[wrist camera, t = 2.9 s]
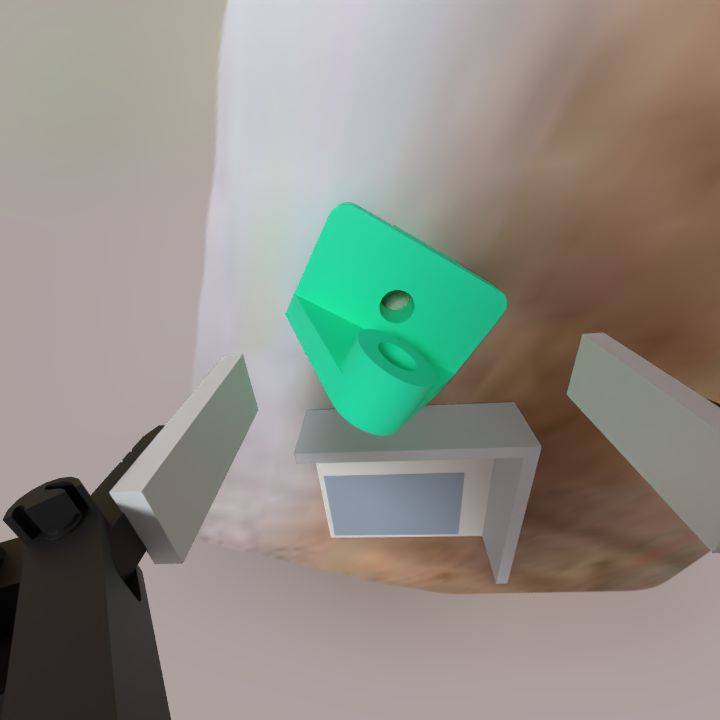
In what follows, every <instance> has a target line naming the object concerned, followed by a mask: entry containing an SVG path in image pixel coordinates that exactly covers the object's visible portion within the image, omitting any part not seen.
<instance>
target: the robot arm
mask: <svg viewBox="0 0 720 720" xmlns="http://www.w3.org/2000/svg"><path fill="white" fill-rule="evenodd" d="M566 395H567V396H568V397H569V398H570V399H571V400H572V401H573V402H574V403H575V404H576V405H577V406H578V408H579V409H580V410H581V411H582V412H583V413H584V414H585V415H586V416H587V417H588V418H589V419H590V420H591V422H592V423H593V424H594V425H595V426H596V427H597V428H598V429H599V430H600V431H601V432H602V433H603V435H604V436H605V437H606V438H607V439H608V440H609V441H610V442H611V443H612V444H613V445H614V446H615V448H616V449H617V450H618V451H619V452H620V453H621V454H622V455H623V456H624V457H625V458H626V459H627V461H628V462H629V463H630V464H631V465H632V466H633V467H634V468H635V469H636V470H637V471H638V472H639V474H640V475H641V476H642V477H643V478H644V479H645V480H646V481H647V482H648V483H649V484H650V485H651V487H652V488H653V489H654V490H655V491H656V492H657V493H658V494H659V495H660V496H661V497H662V498H663V500H664V501H665V502H666V503H667V504H668V505H669V506H670V507H671V508H672V509H673V510H674V511H675V513H676V514H677V515H678V516H679V517H680V518H681V519H682V520H683V521H684V522H685V523H686V524H687V525H688V527H689V528H690V529H691V530H692V531H693V532H694V533H695V534H696V535H697V536H698V537H699V538H700V540H701V541H702V542H703V543H704V544H705V545H706V546H707V547H708V548H709V549H710V550H711V551H712V553H720V404H718V403H716V402H714V401H711V400H709V399H706V398H704V397H703V396H701V395H700V394H698V393H696V392H695V391H693V390H692V389H690V388H689V387H687V386H686V385H684V384H683V383H681V382H679V381H678V380H676V379H675V378H673V377H672V376H670V375H669V374H667V373H665V372H664V371H662V370H661V369H659V368H658V367H656V366H655V365H653V364H652V363H650V362H648V361H647V360H645V359H644V358H642V357H641V356H639V355H638V354H636V353H634V352H633V351H631V350H630V349H628V348H627V347H625V346H624V345H622V344H621V343H619V342H617V341H616V340H614V339H613V338H611V337H610V336H608V335H607V334H605V333H588V334H582V337H581V341H580V345H579V349H578V353H577V356H576V360H575V364H574V368H573V372H572V375H571V379H570V383H569V387H568V391H567V394H566ZM257 411H258V407H257V403H256V400H255V396H254V393H253V389H252V386H251V382H250V378H249V375H248V371H247V368H246V364H245V361H244V357H243V354H239V355H224V356H223V357H222V359H221V360H220V361H219V362H218V363H217V365H216V366H215V367H214V368H213V369H212V370H211V372H210V373H209V374H208V375H207V376H206V378H205V379H204V380H203V381H202V382H201V384H200V385H199V386H198V387H197V388H196V389H195V391H194V392H193V393H192V394H191V395H190V397H189V398H188V399H187V400H186V402H185V403H184V404H183V405H182V406H181V407H180V408H179V410H178V411H177V412H176V413H175V415H174V416H173V417H172V418H171V419H170V421H169V422H168V423H167V424H166V425H164V426H163V425H161V426H158V427H156V428H155V429H153V430H152V431H150V432H149V433H148V434H146V435H145V436H144V437H142V439H141V440H140V441H139V442H138V443H137V444H136V445H135V446H134V447H133V449H132V452H129V453H128V454H127V455H126V457H125V458H124V459H123V462H122V463H119V465H118V466H117V467H116V468H115V469H114V470H113V471H112V472H111V473H110V474H109V476H108V477H107V478H106V479H105V480H104V481H103V482H102V483H101V484H100V486H99V487H98V488H97V489H96V490H95V491H94V492H93V493H92V495H91V496H90V494H89V493H88V492H87V490H86V489H85V487H84V486H83V484H82V483H81V482H80V480H79V479H77V478H74V477H65V478H59V479H56V480H53V481H50V482H47V483H45V484H43V485H41V486H39V487H37V488H35V489H33V490H31V491H30V492H28V493H27V494H25V495H24V496H23V497H21V498H20V499H18V500H17V501H16V502H15V503H14V504H13V505H12V506H11V507H10V508H9V509H8V511H7V512H6V515H5V516H4V518H3V521H4V522H5V523H6V524H7V525H8V526H9V527H10V528H11V529H12V530H13V532H14V533H15V534H16V535H17V536H18V538H15V539H12V540H8V541H5V542H1V543H0V720H171V717H170V712H169V707H168V702H167V697H166V692H165V687H164V681H163V677H162V671H161V666H160V661H159V656H158V650H157V645H156V640H155V635H154V630H153V625H152V620H151V615H150V610H149V604H148V599H147V594H146V589H145V583H144V578H143V574H142V571H141V569H140V567H139V566H138V563H139V562H140V560H141V558H142V557H143V555H144V553H145V552H146V551H147V552H148V554H149V555H150V557H151V559H152V560H153V562H154V563H155V564H169V563H171V564H172V563H183V562H184V560H185V558H186V556H187V554H188V552H189V550H190V548H191V546H192V544H193V542H194V540H195V537H196V535H197V533H198V531H199V529H200V527H201V525H202V523H203V521H204V519H205V517H206V515H207V513H208V511H209V509H210V507H211V505H212V503H213V501H214V499H215V497H216V495H217V493H218V491H219V489H220V487H221V485H222V483H223V480H224V478H225V476H226V474H227V472H228V470H229V468H230V466H231V464H232V462H233V460H234V458H235V456H236V454H237V452H238V450H239V448H240V446H241V444H242V442H243V440H244V438H245V436H246V434H247V432H248V430H249V428H250V425H251V423H252V421H253V419H254V417H255V415H256V413H257Z"/></svg>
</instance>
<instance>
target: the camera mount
mask: <svg viewBox="0 0 720 720" xmlns="http://www.w3.org/2000/svg"><path fill="white" fill-rule="evenodd" d="M394 290H402V291H405V292H407V293H408V294H409V295H410V296H411V298H410V300H409V302H408V304H407V305H406V306H404V307H403V308H401V309H398V310H391V309H388V308H386V307H385V306H384V305H383V304H382V303H381V300H382V298H383V297H384V296H385V295H386V294H387V293H389V292H391V291H394ZM506 307H507V299H506V297H505V295H504V294H503V293H502V292H501V291H500V290H499V289H498V288H497V287H496V286H494V285H493V284H492V283H490V282H488V281H486V280H485V279H483V278H481V277H480V276H478V275H476V274H474V273H473V272H471V271H469V270H468V269H466V268H464V267H462V266H461V265H459V264H458V262H456V261H455V260H453V259H451V258H450V257H448V256H446V255H444V254H443V253H441V252H439V251H438V250H436V249H434V248H432V247H431V246H429V245H427V244H426V243H424V242H422V241H420V240H419V239H417V238H415V237H414V236H412V235H410V234H408V233H407V232H405V231H403V230H402V229H400V228H398V227H396V226H395V225H394V226H392V225H390V224H389V223H387V222H385V221H384V220H382V219H380V218H378V217H377V216H375V215H373V214H372V213H370V212H368V211H366V210H365V209H363V208H361V207H360V206H358V205H356V204H354V203H349V202H347V203H342V204H340V205H338V206H337V207H336V208H334V209H333V210H332V211H331V213H330V214H329V216H328V219H327V221H326V223H325V225H324V228H323V230H322V232H321V234H320V237H319V239H318V241H317V244H316V246H315V248H314V250H313V253H312V255H311V257H310V259H309V262H308V264H307V266H306V269H305V271H304V273H303V275H302V278H301V280H300V282H299V284H298V287H297V289H296V291H295V294H294V296H293V298H292V300H291V303H290V305H289V307H288V309H287V312H286V316H287V318H288V320H289V322H290V324H291V326H292V328H293V330H294V332H295V334H296V335H297V337H298V339H299V341H300V343H301V345H302V347H303V349H304V351H305V353H306V355H307V356H308V358H309V360H310V362H311V364H312V366H313V368H314V370H315V372H316V374H317V376H318V377H319V379H320V381H321V383H322V385H323V387H324V389H325V391H326V393H327V395H328V396H329V398H330V400H331V402H332V404H333V406H334V407H335V409H336V410H337V411H338V412H339V413H340V415H341V416H342V417H343V418H345V419H346V420H347V421H348V422H349V423H351V424H352V425H354V426H355V427H357V428H359V429H361V430H363V431H365V432H367V433H370V434H374V435H379V436H388V435H392V434H394V433H396V432H397V431H398V430H399V429H400V428H401V427H403V426H404V425H405V424H406V423H407V422H408V421H409V420H410V419H411V418H412V417H413V416H415V415H416V414H417V413H418V412H419V411H420V410H421V409H422V408H423V407H424V406H426V405H427V404H428V403H429V402H430V401H431V400H432V399H433V398H434V397H435V396H436V395H438V394H439V393H440V392H441V391H442V390H443V389H444V387H445V386H446V385H447V384H448V382H449V381H450V380H451V379H452V377H453V376H454V375H455V374H456V372H457V371H458V370H459V369H460V367H461V366H462V365H463V364H464V362H465V361H466V360H467V359H468V357H469V356H470V355H471V354H472V352H473V351H474V350H475V349H476V347H477V346H478V345H479V344H480V342H481V341H482V340H483V339H484V337H485V336H486V335H487V334H488V332H489V331H490V330H491V329H492V327H493V326H494V325H495V324H496V322H497V321H498V320H499V319H500V317H501V316H502V315H503V314H504V312H505V310H506Z"/></svg>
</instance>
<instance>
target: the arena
mask: <svg viewBox="0 0 720 720" xmlns="http://www.w3.org/2000/svg"><path fill="white" fill-rule="evenodd" d="M541 447H542V446H541V445H540V443H539V441H538V440H537V438H536V436H535V435H534V433H533V432H532V430H531V428H530V427H529V425H528V423H527V422H526V420H525V419H524V417H523V415H522V414H521V412H520V410H519V409H518V407H517V406H516V404H515V402H502V403H477V404H452V405H426V406H424V407H423V408H422V409H421V410H420V411H419V412H418V413H417V414H416V415H415V416H413V417H412V418H411V419H410V420H409V421H408V422H407V423H406V424H405V425H404V426H403V427H401V428H400V429H399V430H398V431H397V432H396V433H394V434H392V435H388V436H379V435H374V434H370V433H367V432H365V431H363V430H361V429H359V428H357V427H355V426H354V425H352V424H351V423H349V422H348V421H347V420H346V419H345V418H343V417H342V416H341V415H340V413H339V412H338V411H337V410H336V409H324V410H307V411H306V415H305V418H304V421H303V425H302V428H301V432H300V435H299V439H298V442H297V445H296V449H295V452H294V456H295V460H296V464H310V463H316V465H317V470H318V475H319V480H320V485H321V490H322V495H323V500H324V505H325V510H326V515H327V520H328V525H329V530H330V535H331V537H432V536H482V538H483V541H484V544H485V548H486V551H487V554H488V558H489V561H490V565H491V568H492V571H493V575H494V578H495V581H496V583H507V582H508V578H509V574H510V570H511V566H512V563H513V559H514V555H515V551H516V547H517V543H518V539H519V535H520V531H521V527H522V523H523V519H524V515H525V511H526V507H527V503H528V499H529V495H530V491H531V487H532V483H533V479H534V475H535V471H536V467H537V463H538V459H539V455H540V451H541Z"/></svg>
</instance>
